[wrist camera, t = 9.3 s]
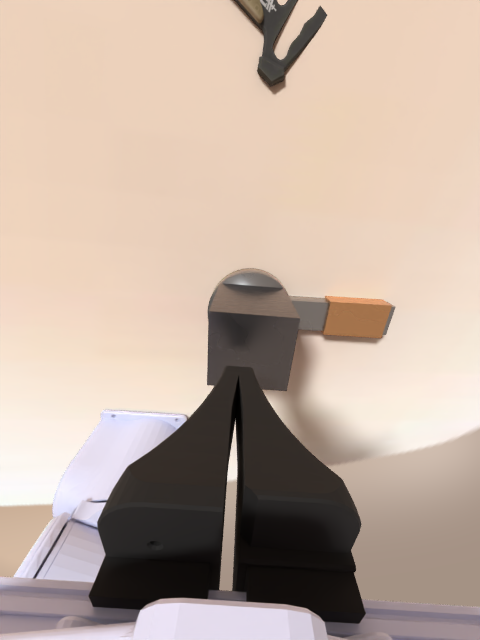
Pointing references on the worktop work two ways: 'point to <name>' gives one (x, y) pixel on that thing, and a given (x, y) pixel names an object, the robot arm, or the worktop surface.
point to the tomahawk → (270, 19)
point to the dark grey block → (252, 333)
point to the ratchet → (324, 308)
